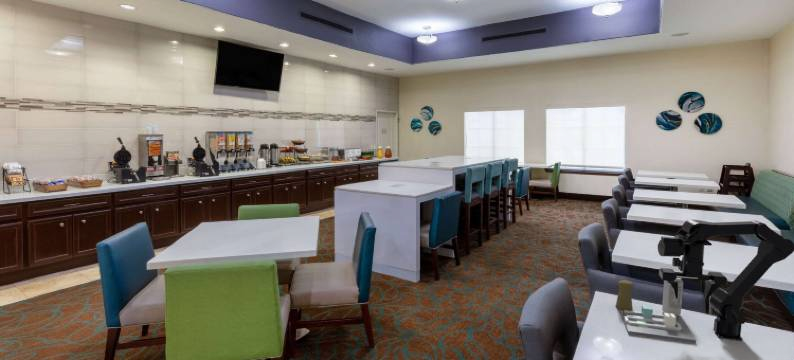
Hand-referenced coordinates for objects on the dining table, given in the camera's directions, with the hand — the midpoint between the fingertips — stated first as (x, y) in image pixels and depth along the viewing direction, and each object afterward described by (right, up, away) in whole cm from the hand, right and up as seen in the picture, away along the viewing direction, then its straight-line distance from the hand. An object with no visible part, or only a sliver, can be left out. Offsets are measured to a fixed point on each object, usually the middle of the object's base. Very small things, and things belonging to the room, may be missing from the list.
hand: (690, 299), depth 145 cm
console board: (-9, -12, +5) cm, 15 cm away
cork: (-11, -10, +22) cm, 26 cm away
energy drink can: (+3, -10, +15) cm, 19 cm away
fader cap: (-5, -10, +3) cm, 12 cm away
